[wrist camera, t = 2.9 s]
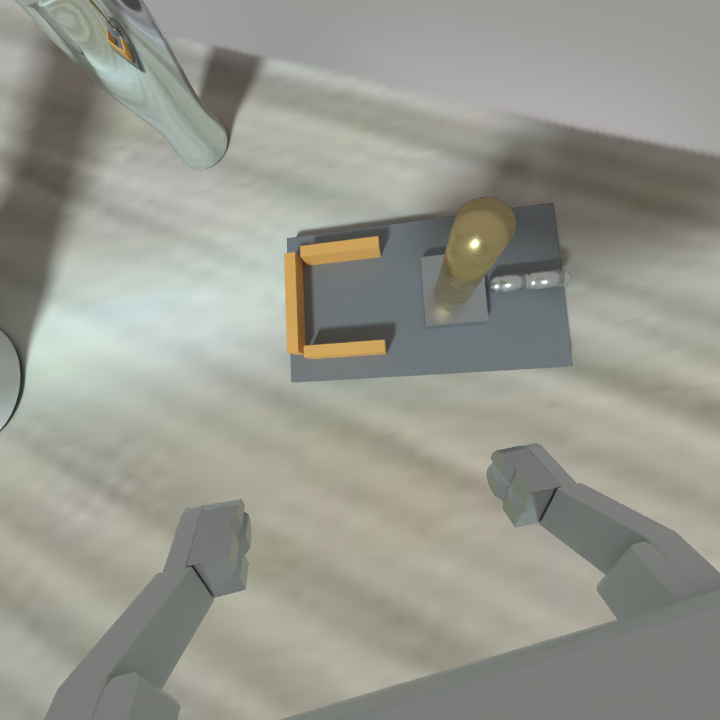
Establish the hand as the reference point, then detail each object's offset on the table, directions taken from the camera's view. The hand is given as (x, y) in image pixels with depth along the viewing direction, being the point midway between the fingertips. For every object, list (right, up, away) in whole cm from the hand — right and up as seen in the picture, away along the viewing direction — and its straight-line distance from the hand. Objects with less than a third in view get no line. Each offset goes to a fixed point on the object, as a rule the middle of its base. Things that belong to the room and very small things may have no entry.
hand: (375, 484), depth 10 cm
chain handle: (+11, +10, +16) cm, 22 cm away
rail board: (+5, +10, +19) cm, 22 cm away
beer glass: (-18, +28, +24) cm, 41 cm away
